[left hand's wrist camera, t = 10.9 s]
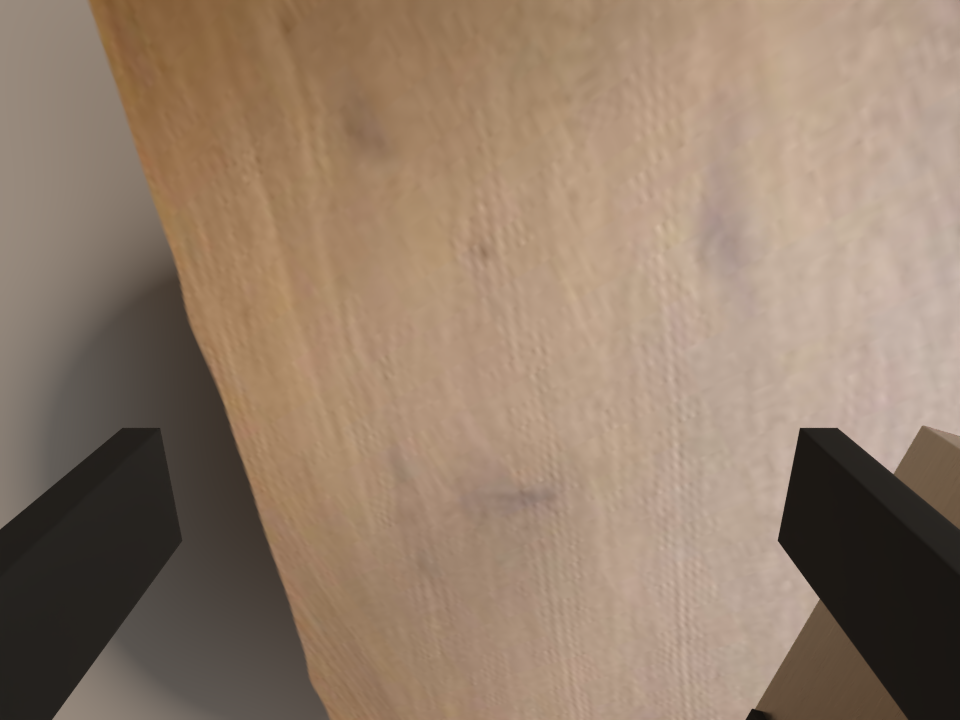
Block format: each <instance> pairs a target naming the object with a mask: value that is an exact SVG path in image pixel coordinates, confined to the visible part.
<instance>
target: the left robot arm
mask: <svg viewBox="0 0 960 720" xmlns="http://www.w3.org/2000/svg"><path fill="white" fill-rule="evenodd" d="M181 542H182V537H181V532H180V527H179V522H178V517H177V512H176V507H175V502H174V497H173V492H172V486H171V481H170V476H169V471H168V466H167V461H166V456H165V451H164V446H163V441H162V436H161V431H160V428H122V429H121V430H120V431H118V432H117V433H116V434H115V435H114V436H112V437H111V438H110V439H109V440H108V441H106V442H105V443H104V444H103V445H102V446H100V447H99V448H98V449H97V450H96V451H94V452H93V453H92V454H91V455H90V456H88V457H87V458H86V459H85V460H83V461H82V462H81V463H80V464H79V465H78V466H76V467H75V468H74V469H73V470H71V471H70V472H69V473H68V474H67V475H65V476H64V477H63V478H62V479H61V480H59V481H58V482H57V483H56V484H55V485H53V486H52V487H51V488H50V489H49V490H47V491H46V492H45V493H44V494H43V495H41V496H40V497H39V498H38V499H36V500H35V501H34V502H33V503H32V504H31V505H29V506H28V507H27V508H26V509H25V510H23V511H22V512H21V513H20V514H18V515H17V516H16V517H15V518H14V519H12V520H11V521H10V522H9V523H8V524H6V525H5V526H4V527H3V528H2V529H0V720H52V719H53V718H54V716H55V715H56V713H57V712H58V711H59V709H60V708H61V707H62V705H63V704H64V702H65V701H66V700H67V698H68V697H69V696H70V694H71V693H72V691H73V690H74V689H75V687H76V686H77V685H78V683H79V682H80V680H81V679H82V678H83V676H84V675H85V674H86V672H87V671H88V669H89V668H90V667H91V665H92V664H93V663H94V661H95V660H96V658H97V657H98V656H99V654H100V653H101V652H102V650H103V649H104V648H105V646H106V645H107V643H108V642H109V641H110V639H111V638H112V637H113V635H114V634H115V632H116V631H117V630H118V628H119V627H120V625H121V624H122V623H123V621H124V620H125V619H126V617H127V616H128V614H129V613H130V612H131V610H132V609H133V608H134V606H135V605H136V604H137V602H138V601H139V599H140V598H141V597H142V595H143V594H144V592H145V591H146V590H147V588H148V587H149V586H150V584H151V583H152V582H153V580H154V579H155V577H156V576H157V575H158V573H159V572H160V570H161V569H162V568H163V566H164V565H165V564H166V562H167V561H168V560H169V558H170V557H171V555H172V554H173V553H174V551H175V550H176V549H177V547H178V546H179V544H180V543H181ZM778 542H779V543H780V544H781V546H782V547H783V549H784V550H785V551H786V553H787V554H788V555H789V557H790V558H791V560H792V561H793V562H794V564H795V565H796V566H797V568H798V569H799V571H800V572H801V573H802V575H803V576H804V577H805V579H806V580H807V582H808V583H809V584H810V586H811V587H812V588H813V590H814V591H815V593H816V594H817V595H818V597H819V598H820V599H821V601H822V602H823V604H824V605H825V606H826V608H827V609H828V610H829V612H830V613H831V615H832V616H833V617H834V619H835V620H836V621H837V623H838V624H839V626H840V627H841V628H842V630H843V631H844V632H845V634H846V635H847V637H848V638H849V639H850V641H851V642H852V643H853V645H854V646H855V648H856V649H857V650H858V652H859V653H860V654H861V656H862V657H863V659H864V660H865V661H866V663H867V664H868V665H869V667H870V668H871V670H872V671H873V672H874V674H875V675H876V676H877V678H878V679H879V680H880V682H881V683H882V685H883V686H884V687H885V689H886V690H887V691H888V693H889V694H890V696H891V697H892V698H893V700H894V701H895V702H896V704H897V705H898V707H899V708H900V709H901V711H902V712H903V713H904V715H905V716H906V718H907V719H908V720H960V529H958V528H957V527H956V526H955V525H954V524H952V523H951V522H950V521H949V520H948V519H946V518H945V517H944V516H943V515H942V514H940V513H939V512H938V511H937V510H936V509H934V508H933V507H932V506H931V505H930V504H928V503H927V502H926V501H925V500H924V499H922V498H921V497H920V496H919V495H918V494H916V493H915V492H914V491H913V490H911V489H910V488H909V487H908V486H907V485H905V484H904V483H903V482H902V481H901V480H899V479H898V478H897V477H896V476H895V475H893V474H892V473H891V472H890V471H889V470H887V469H886V468H885V467H884V466H883V465H881V464H880V463H879V462H878V461H877V460H875V459H874V458H873V457H872V456H871V455H869V454H868V453H867V452H866V451H864V450H863V449H862V448H861V447H860V446H858V445H857V444H856V443H855V442H854V441H852V440H851V439H850V438H849V437H848V436H846V435H845V434H844V433H843V432H842V431H840V430H839V429H838V428H800V431H799V436H798V441H797V446H796V451H795V456H794V461H793V466H792V471H791V476H790V481H789V486H788V492H787V497H786V502H785V507H784V512H783V517H782V522H781V527H780V532H779V537H778Z"/></svg>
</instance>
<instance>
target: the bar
mask: <svg viewBox="0 0 960 720" xmlns="http://www.w3.org/2000/svg"><path fill="white" fill-rule="evenodd" d="M893 475H895V476H896V477H897V478H898V479H899V480H901V481H902V482H903V483H904V484H905V485H907V486H908V487H909V488H910V489H911V490H913V491H914V492H915V493H916V494H918V495H919V496H920V497H921V498H922V499H924V500H925V501H926V502H927V503H928V504H930V505H931V506H932V507H933V508H934V509H936V510H937V511H938V512H939V513H940V514H942V515H943V516H944V517H945V518H946V519H948V520H949V521H950V522H951V523H952V524H954V525H955V526H956V527H957V528H958V529H960V436H957V435H953V434H950V433H947V432H943V431H940V430H937V429H933V428H930V427H927V426H922V427H921V429H920V430H919V432H918V434H917V435H916V437H915V439H914V440H913V442H912V444H911V446H910V447H909V449H908V451H907V452H906V454H905V456H904V457H903V459H902V461H901V462H900V464H899V466H898V468H897V469H896V471H895V473H894V474H893ZM755 710H760V711H763V713H764V715H765V717H766V719H767V720H908V719H907V718H906V716H905V715H904V713H903V712H902V711H901V709H900V708H899V707H898V705H897V704H896V702H895V701H894V700H893V698H892V697H891V696H890V694H889V693H888V691H887V690H886V689H885V687H884V686H883V685H882V683H881V682H880V680H879V679H878V678H877V676H876V675H875V674H874V672H873V671H872V670H871V668H870V667H869V665H868V664H867V663H866V661H865V660H864V659H863V657H862V656H861V654H860V653H859V652H858V650H857V649H856V648H855V646H854V645H853V643H852V642H851V641H850V639H849V638H848V637H847V635H846V634H845V632H844V631H843V630H842V628H841V627H840V626H839V624H838V623H837V621H836V620H835V619H834V617H833V616H832V615H831V613H830V612H829V610H828V609H827V608H826V606H825V605H824V604H823V602H822V601H821V599H820V600H819V601H818V603H817V605H816V607H815V608H814V610H813V612H812V613H811V615H810V617H809V618H808V620H807V622H806V623H805V625H804V627H803V629H802V630H801V632H800V634H799V635H798V637H797V639H796V640H795V642H794V644H793V645H792V647H791V649H790V651H789V652H788V654H787V656H786V657H785V659H784V661H783V662H782V664H781V666H780V668H779V669H778V671H777V673H776V674H775V676H774V678H773V679H772V681H771V683H770V684H769V686H768V688H767V690H766V691H765V693H764V695H763V696H762V698H761V700H760V701H759V703H758V705H757V707H756V708H755Z"/></svg>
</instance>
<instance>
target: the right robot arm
mask: <svg viewBox="0 0 960 720" xmlns="http://www.w3.org/2000/svg"><path fill="white" fill-rule="evenodd" d="M746 720H767V719H766V717H765V715H764V713H763V711H760V710H755V709H752V710H751V711H750V713H749V715H748V717H747V718H746Z"/></svg>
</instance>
